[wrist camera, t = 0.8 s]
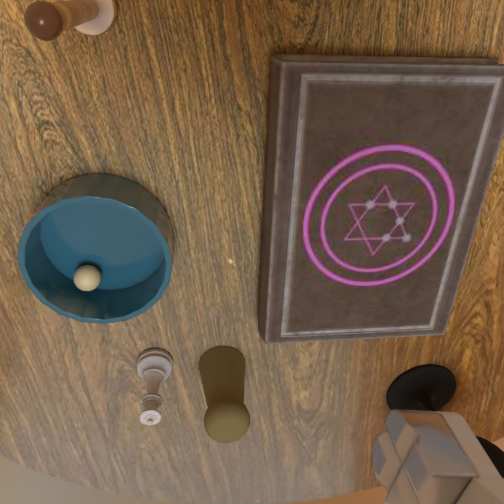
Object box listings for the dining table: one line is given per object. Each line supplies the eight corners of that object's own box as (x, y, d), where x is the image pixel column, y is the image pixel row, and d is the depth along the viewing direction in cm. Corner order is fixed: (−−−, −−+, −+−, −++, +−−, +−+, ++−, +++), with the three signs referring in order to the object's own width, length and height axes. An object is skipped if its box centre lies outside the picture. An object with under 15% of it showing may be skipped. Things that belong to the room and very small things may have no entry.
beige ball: (81, 256, 51) (76, 270, 49) (106, 266, 52) (102, 279, 50) (72, 276, 52) (67, 290, 50) (97, 285, 53) (92, 299, 51)
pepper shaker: (200, 344, 60) (203, 413, 50) (248, 346, 61) (259, 414, 51) (196, 380, 63) (198, 451, 53) (241, 381, 64) (251, 451, 54)
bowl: (63, 148, 46) (47, 170, 41) (195, 209, 51) (196, 235, 45) (17, 262, 51) (-2, 294, 46) (141, 307, 56) (136, 340, 51)
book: (426, 310, 61) (444, 335, 57) (255, 318, 59) (261, 344, 54) (493, 57, 46) (524, 65, 42) (267, 53, 44) (276, 60, 39)
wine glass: (389, 368, 66) (461, 505, 49) (461, 360, 67) (556, 492, 49) (382, 420, 71) (445, 560, 54) (448, 411, 72) (531, 547, 55)
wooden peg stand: (78, -30, 39) (12, -37, 24) (124, -3, 40) (89, 7, 26) (61, 17, 40) (-10, 38, 26) (107, 42, 42) (63, 75, 27)
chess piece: (141, 376, 61) (133, 440, 53) (134, 350, 59) (125, 413, 50) (175, 371, 61) (173, 434, 53) (169, 345, 59) (166, 407, 51)
